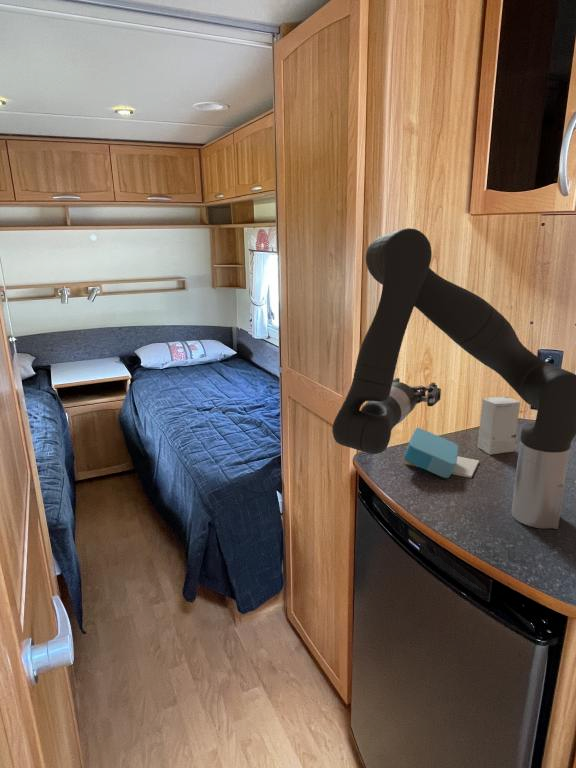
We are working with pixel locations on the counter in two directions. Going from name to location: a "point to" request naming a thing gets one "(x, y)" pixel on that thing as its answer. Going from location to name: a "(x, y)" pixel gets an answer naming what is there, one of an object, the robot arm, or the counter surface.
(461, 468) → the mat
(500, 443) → the skincare box
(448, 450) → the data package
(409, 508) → the counter surface
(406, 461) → the ledge
